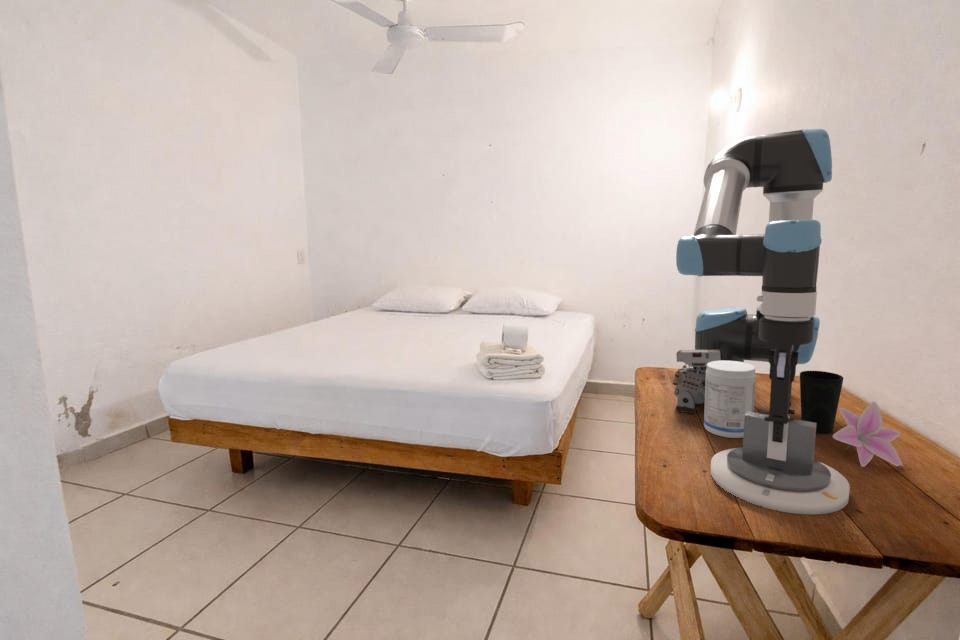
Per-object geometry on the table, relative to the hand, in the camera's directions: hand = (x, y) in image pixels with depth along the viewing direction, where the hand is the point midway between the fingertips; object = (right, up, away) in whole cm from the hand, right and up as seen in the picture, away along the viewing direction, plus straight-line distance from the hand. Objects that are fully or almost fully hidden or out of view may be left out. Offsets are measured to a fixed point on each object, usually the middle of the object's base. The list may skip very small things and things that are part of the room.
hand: (777, 454), depth 83 cm
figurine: (+4, +1, +38) cm, 38 cm away
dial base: (0, -5, +1) cm, 5 cm away
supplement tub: (+4, -2, +24) cm, 24 cm away
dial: (0, -3, 0) cm, 3 cm away
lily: (+22, -3, +9) cm, 24 cm away
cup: (+23, -1, +23) cm, 33 cm away
